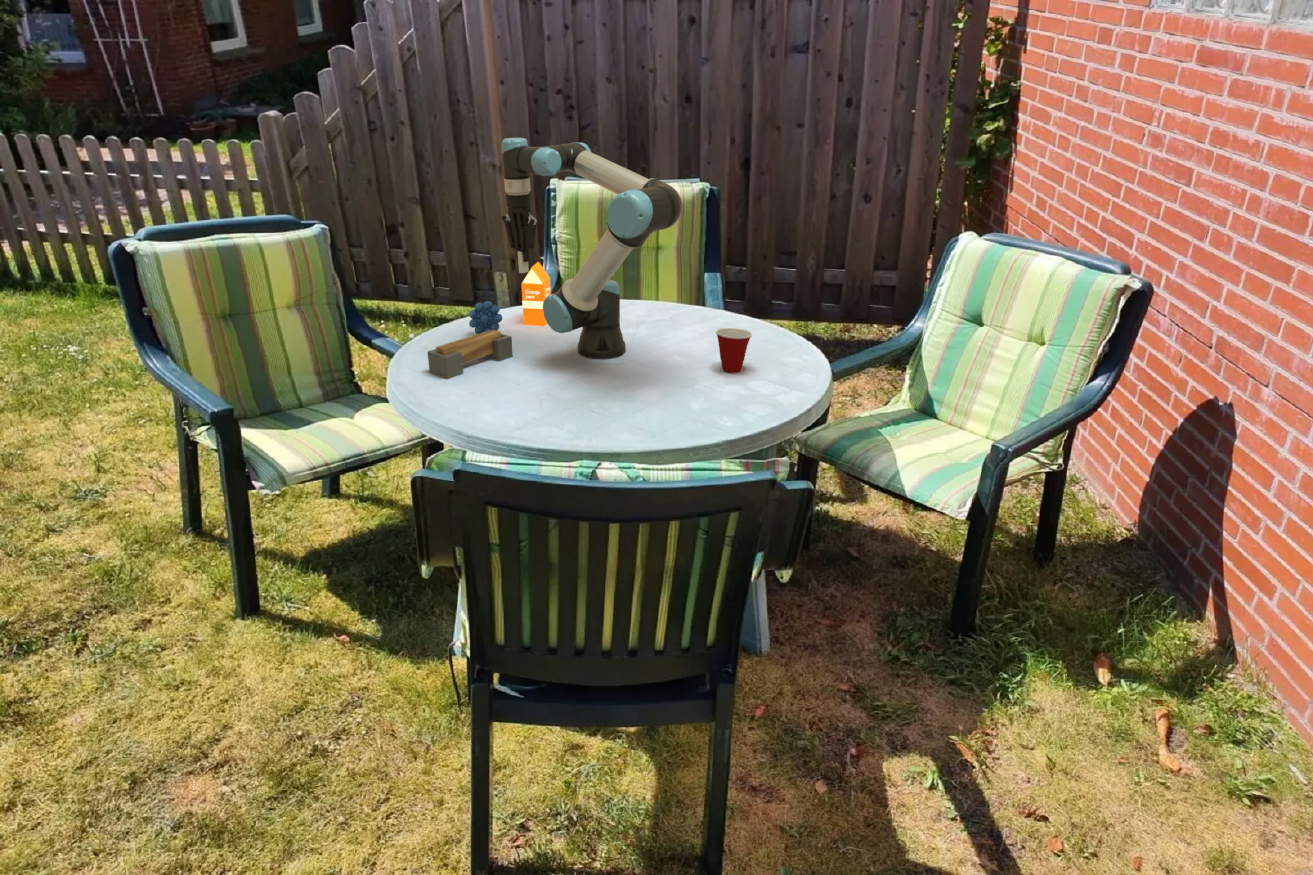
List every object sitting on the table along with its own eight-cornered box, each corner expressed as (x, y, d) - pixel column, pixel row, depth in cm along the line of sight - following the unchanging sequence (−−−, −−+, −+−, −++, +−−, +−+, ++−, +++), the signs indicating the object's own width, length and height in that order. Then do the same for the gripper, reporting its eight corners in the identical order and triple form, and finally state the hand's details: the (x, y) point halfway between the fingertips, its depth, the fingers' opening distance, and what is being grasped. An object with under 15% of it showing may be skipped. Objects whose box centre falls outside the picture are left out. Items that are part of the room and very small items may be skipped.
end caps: (512, 356, 278) (511, 336, 275) (448, 378, 260) (446, 357, 257) (494, 350, 283) (492, 331, 280) (429, 372, 265) (427, 351, 262)
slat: (502, 350, 277) (500, 331, 275) (445, 369, 262) (443, 349, 259) (494, 347, 279) (493, 329, 277) (437, 366, 264) (435, 347, 261)
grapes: (508, 333, 299) (505, 298, 294) (500, 339, 293) (498, 303, 288) (475, 330, 301) (472, 295, 296) (467, 336, 295) (464, 301, 290)
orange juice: (523, 324, 308) (520, 267, 299) (530, 317, 315) (527, 261, 307) (545, 326, 306) (542, 268, 298) (552, 318, 314) (549, 262, 306)
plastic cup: (757, 369, 269) (760, 331, 264) (735, 378, 262) (737, 339, 257) (729, 360, 276) (731, 323, 271) (706, 369, 268) (708, 331, 263)
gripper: (493, 193, 266) (499, 272, 275) (525, 196, 259) (531, 277, 268) (510, 189, 271) (516, 267, 281) (543, 193, 264) (548, 272, 274)
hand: (523, 272), depth 274 cm, fingers closed
